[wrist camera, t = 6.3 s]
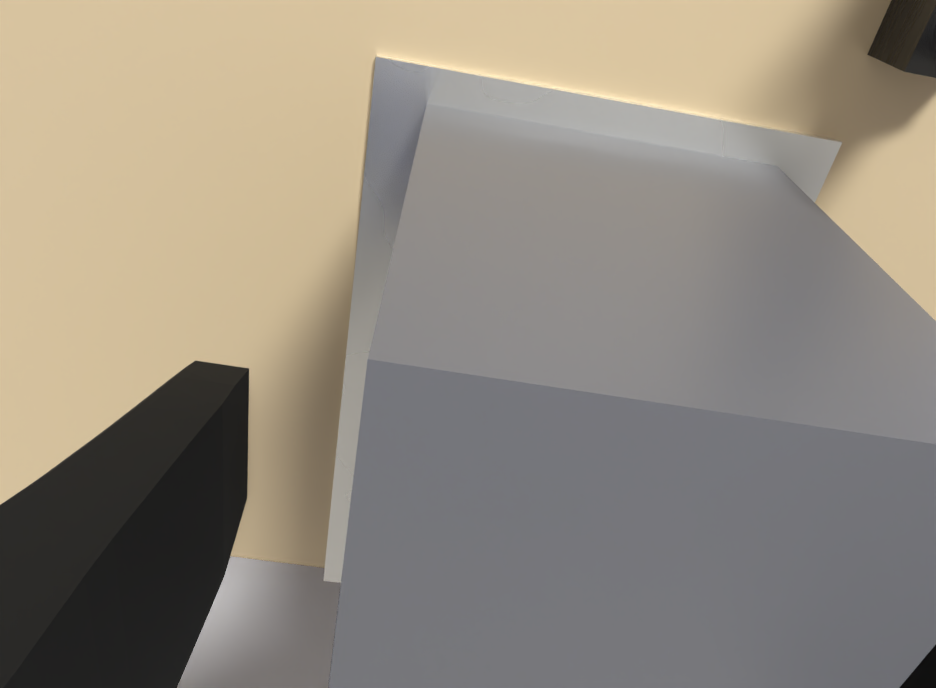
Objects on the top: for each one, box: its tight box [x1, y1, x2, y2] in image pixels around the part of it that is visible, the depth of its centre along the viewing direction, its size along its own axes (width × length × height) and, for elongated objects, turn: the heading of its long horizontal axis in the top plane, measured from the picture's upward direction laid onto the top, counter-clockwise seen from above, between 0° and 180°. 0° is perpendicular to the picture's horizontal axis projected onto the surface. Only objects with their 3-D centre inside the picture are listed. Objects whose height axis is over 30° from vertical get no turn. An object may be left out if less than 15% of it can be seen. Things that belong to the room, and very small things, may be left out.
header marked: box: [323, 55, 842, 583], centre depth 9 cm, size 8×5×3 cm, turn 170°
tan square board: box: [0, 0, 936, 568], centre depth 9 cm, size 12×14×1 cm
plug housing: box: [328, 103, 936, 688], centre depth 8 cm, size 7×4×5 cm, turn 170°
